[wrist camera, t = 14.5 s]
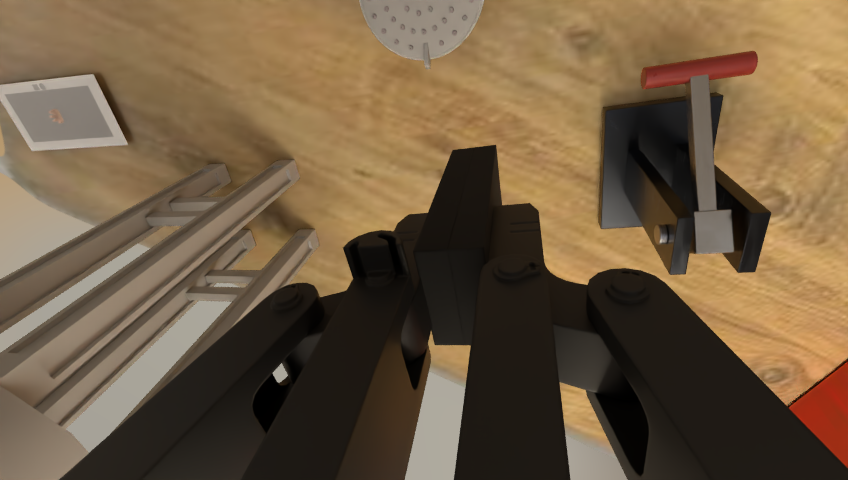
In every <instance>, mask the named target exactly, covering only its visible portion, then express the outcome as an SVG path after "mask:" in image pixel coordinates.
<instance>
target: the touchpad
mask: <svg viewBox="0 0 848 480" xmlns="http://www.w3.org/2000/svg"><path fill="white" fill-rule="evenodd" d="M0 101H1V102H2V104H3V105H4V107H5V109H6V110H7V112H8V113H9V115H10V117H11V118H12V120H13V121H14V123H15V125H16V126H17V128H18V129H19V131H20V133H21V134H22V136H23V137H24V139H25V141H26V142H27V144H28V146H29V147H30V149H31V150H32V151H41V150H56V149H71V148H87V147H102V146H118V145H128V143H127V141H126V139H125V137H124V135H123V133H122V131H121V129H120V127H119V125H118V123H117V121H116V119H115V117H114V115H113V113H112V111H111V109H110V107H109V105H108V103H107V101H106V99H105V97H104V95H103V93H102V91H101V88H100V86H99V84H98V82H97V80H96V78H95V76H94V74H89V75H80V76H72V77H63V78H55V79H46V80H37V81H29V82H20V83H12V84H3V85H0Z"/></svg>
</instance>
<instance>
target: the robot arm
mask: <svg viewBox="0 0 848 480" xmlns="http://www.w3.org/2000/svg"><path fill="white" fill-rule="evenodd" d="M343 249H344V252H345V255H346V258H347V261H348V264H349V267H350V270H351V273H352V276H353V280H352V282H351V284H350V286H349V287H348V289H347V291H344V292H340V293H336V294H332V295H328V296H324V297H320V296H319V294H318V291H317V290H316V288H315V287H314V285H311V284H308V283H295V284H291V285H286V286H284V287H282V288H280V289H278V290H276V291H274V292H273V293H271V294H270V295H269V296H267V297H266V298H265V299H263V300H262V301H261V302H260V303H259V304H258V305H257V306H256V307H254V308H253V309H252V310H251V311H250V312H249V313H248V314H246V315H245V316H244V317H243V318H242V319H241V320H240V321H238V322H237V323H236V324H235V325H234V326H233V327H232V328H231V329H229V330H228V331H227V332H226V333H225V334H224V335H223V336H221V337H220V338H219V339H218V340H217V341H216V342H215V343H213V344H212V345H211V346H210V347H209V348H208V349H207V350H206V351H204V352H203V353H202V354H201V355H200V356H199V357H198V358H196V359H195V360H194V361H193V362H192V363H191V364H190V365H189V366H187V367H186V368H185V369H184V370H183V371H182V372H181V373H179V374H178V375H177V376H176V377H175V378H174V379H173V380H171V381H170V382H169V383H168V384H167V385H166V386H165V387H164V388H162V389H161V390H160V391H159V392H158V393H157V394H156V395H154V396H153V397H152V398H151V399H150V400H149V401H148V402H146V403H145V404H144V405H143V406H142V407H141V408H140V409H139V410H137V411H136V412H135V413H134V414H133V415H132V416H131V417H129V418H128V419H127V420H126V421H125V422H124V423H123V424H121V425H120V426H119V427H118V428H117V429H116V430H115V431H114V432H112V433H111V434H110V435H109V436H108V437H107V438H106V439H105V440H103V441H102V442H101V443H100V444H99V445H98V446H96V447H95V448H94V449H93V450H92V451H91V452H90V453H89V454H87V455H86V456H85V457H84V458H83V459H82V460H81V461H79V462H78V463H77V464H76V465H75V466H74V467H73V468H71V469H70V470H69V471H68V472H67V473H66V474H65V475H64V476H62V477H61V478H60V479H59V480H405V475H406V471H407V466H408V462H409V457H410V453H411V448H412V444H413V439H414V435H415V431H416V426H417V422H418V417H419V413H420V408H421V403H422V399H423V395H424V390H425V385H426V381H427V377H428V372H429V368H430V363H431V354H430V350H429V346H428V340H429V336H430V332H431V331H432V335H433V339H434V343H435V345H471V349H470V357H469V365H468V373H467V380H466V388H465V396H464V405H463V412H462V420H461V428H460V436H459V444H458V452H457V460H456V468H455V475H454V480H570V473H569V464H568V455H567V446H566V437H565V428H564V419H563V411H562V402H561V393H560V384H559V382H561V383H565V384H568V385H571V386H575V387H578V388H581V389H585V390H586V393H587V397H588V399H589V401H590V403H591V405H592V407H593V409H594V411H595V413H596V415H597V417H598V419H599V421H600V423H601V426H602V428H603V430H604V432H605V434H606V436H607V438H608V440H609V442H610V444H611V446H612V448H613V450H614V452H615V454H616V457H617V459H618V461H619V463H620V465H621V467H622V469H623V471H624V473H625V475H626V477H627V479H628V480H848V468H847V467H846V466H845V465H844V464H843V463H842V462H841V461H840V460H839V459H838V458H837V457H836V456H835V455H834V454H833V453H832V452H831V451H830V450H829V449H828V448H827V446H826V445H825V444H824V443H823V442H822V441H821V440H820V439H819V438H818V437H817V436H816V435H815V434H814V433H813V432H812V431H811V430H810V429H809V428H808V427H807V426H806V425H805V424H804V423H803V422H802V421H801V420H800V419H799V418H798V417H797V416H796V415H795V414H794V413H793V412H792V411H791V410H790V409H789V408H788V407H787V406H786V405H785V404H784V403H783V402H782V401H781V400H780V399H779V398H778V397H777V396H776V395H775V394H774V393H773V392H772V391H771V390H770V389H769V388H768V387H767V386H766V385H765V384H764V383H763V382H762V381H761V380H760V379H759V377H758V376H757V375H756V374H755V373H754V372H753V371H752V370H751V369H750V368H749V367H748V366H747V365H746V364H745V363H744V362H743V361H742V360H741V359H740V358H739V357H738V356H737V355H736V354H735V353H734V352H733V351H732V350H731V349H730V348H729V347H728V346H727V345H726V344H725V343H724V342H723V341H722V340H721V339H720V338H719V337H718V336H717V335H716V334H715V333H714V332H713V331H712V330H711V329H710V328H709V327H708V326H707V325H706V324H705V323H704V322H703V321H702V320H701V319H700V318H699V317H698V316H697V315H696V314H695V313H694V312H693V311H692V310H691V308H690V307H689V306H688V305H687V304H686V303H685V302H684V301H683V300H682V299H681V298H680V297H679V296H678V295H677V294H676V293H675V292H674V291H673V290H672V289H671V288H670V287H669V286H668V285H667V284H666V283H665V282H663V281H662V280H660V279H659V278H657V277H656V276H654V275H652V274H649V273H646V272H643V271H641V270H633V269H626V268H622V269H610V270H606V271H603V272H600V273H598V274H596V275H595V276H594V277H592V278H591V279H590V280H589V283H588V285H584V284H578V283H573V282H569V281H565V280H563V279H561V278H558V277H556V276H555V275H553V274H552V273H550V271H549V270H548V269H547V268H546V266H545V263H544V256H543V247H542V238H541V230H540V221H539V212H538V210H537V209H536V208H534V207H533V206H532V205H531V204H530V203H526V204H514V205H502V200H501V190H500V180H499V170H498V160H497V150H496V145H491V146H483V147H475V148H467V149H458V150H453V151H452V153H451V156H450V158H449V161H448V163H447V166H446V169H445V171H444V174H443V176H442V179H441V181H440V184H439V186H438V189H437V191H436V194H435V197H434V199H433V202H432V204H431V207H430V209H429V212H428V213H421V214H409V215H408V216H406V217H405V218H404V219H403V220H401V221H400V222H399V223H398V224H397V226H396V228H395V230H394V232H392V231H382V230H380V231H374V232H369V233H366V234H363V235H360V236H358V237H356V238H354V239H353V240H351V241H349V242H348V243H347V244H346V245H345V246H344V247H343ZM281 363H282V364H283V366H284V368H285V370H286V372H287V374H288V376H287V377H286V378H285V379H284V380H283V381H282V382H280V383H278V382H277V381H276V379H275V378H274V376H273V374H272V373H273V372H274V370H275V369H276V368H277V367H278V366H279V365H280V364H281Z"/></svg>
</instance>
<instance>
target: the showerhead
mask: <svg viewBox="0 0 848 480" xmlns="http://www.w3.org/2000/svg"><path fill="white" fill-rule="evenodd" d="M359 2H360V6H361V9H362V13H363V15H364V18H365V20H366V22H367V24H368V26H369V28H370V29H371V31H372V33H373V34H374V35H375V37H376V38H377V39H378V40H379V41H380V42H381V43H382V44H383V45H384V46H385V47H386V48H388V49H389V50H390V51H392V52H394V53H395V54H397V55H399V56H402V57H405V58H408V59H412V60H424V63H425V67H426V69H430V60H431V59H435V58H439V57H441V56H444V55H446V54H448V53H450V52H451V51H453V50H454V49H456V48H457V47H458V46H459V45H460V44H461V43H462V42H463V41H464V40H465V39H466V38H467V37H468V35H469V34H470V33H471V31H472V30H473V28H474V26H475V24H476V23H477V21H478V19H479V16H480V14H481V11H482V8H483V4H484V0H359Z"/></svg>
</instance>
